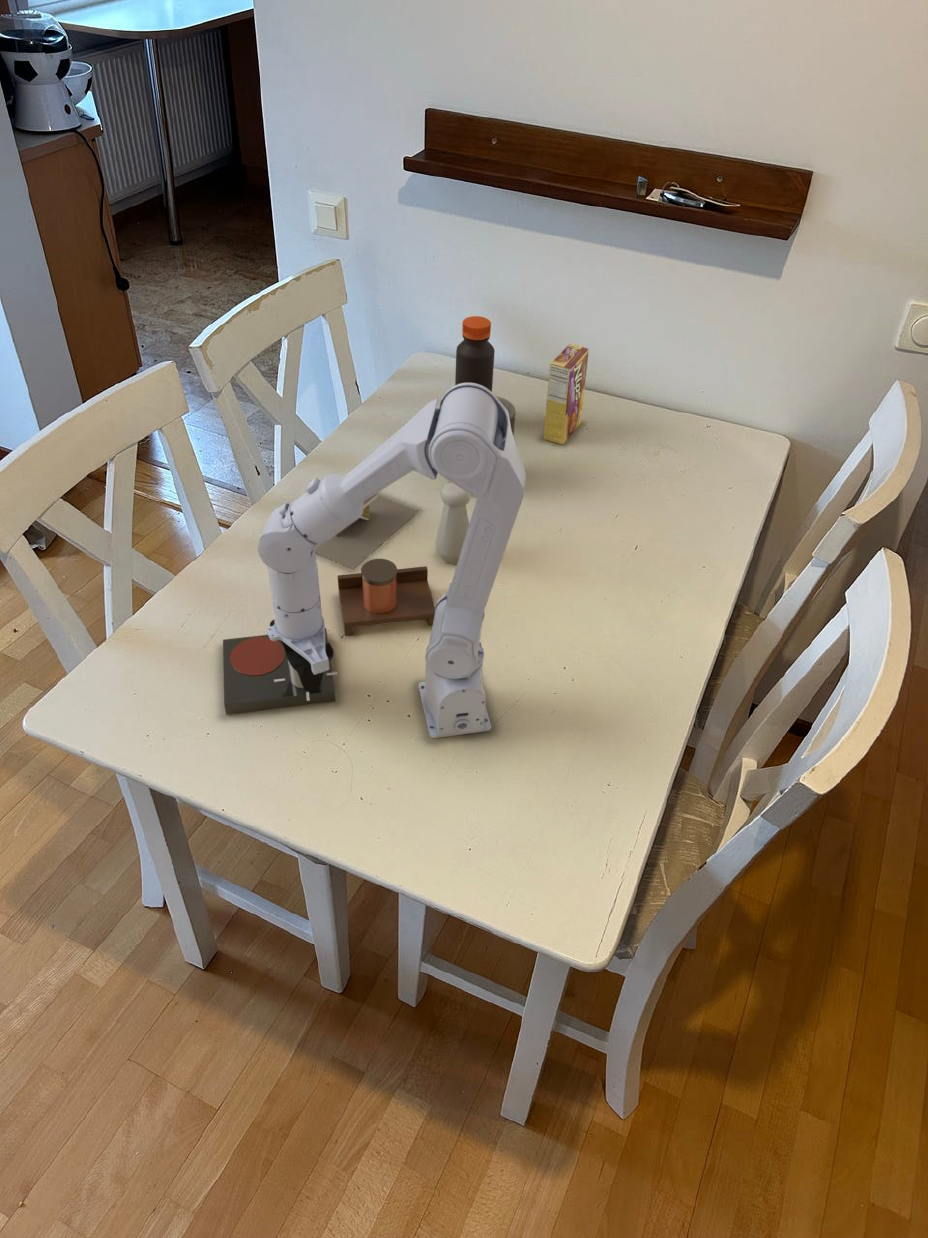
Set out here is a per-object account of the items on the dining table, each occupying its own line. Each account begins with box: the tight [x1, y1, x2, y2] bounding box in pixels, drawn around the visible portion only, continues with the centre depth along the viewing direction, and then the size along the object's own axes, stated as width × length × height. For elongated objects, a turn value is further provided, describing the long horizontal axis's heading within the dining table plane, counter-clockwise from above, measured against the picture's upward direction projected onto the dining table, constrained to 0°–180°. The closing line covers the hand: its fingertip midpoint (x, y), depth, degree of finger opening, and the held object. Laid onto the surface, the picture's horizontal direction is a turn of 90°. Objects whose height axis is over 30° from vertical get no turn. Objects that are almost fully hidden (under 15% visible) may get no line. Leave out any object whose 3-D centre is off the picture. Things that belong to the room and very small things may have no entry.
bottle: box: [454, 315, 495, 393], centre depth 164 cm, size 7×7×20 cm
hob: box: [222, 627, 338, 716], centre depth 121 cm, size 13×15×2 cm
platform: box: [315, 492, 419, 570], centre depth 145 cm, size 12×18×6 cm, turn 149°
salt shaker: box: [434, 481, 472, 566], centre depth 138 cm, size 6×6×13 cm
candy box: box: [543, 343, 590, 445], centre depth 165 cm, size 9×4×15 cm, turn 152°
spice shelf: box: [336, 565, 435, 636], centre depth 131 cm, size 8×13×4 cm, turn 102°
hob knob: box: [288, 661, 303, 688], centre depth 118 cm, size 4×4×4 cm
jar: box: [360, 558, 398, 613], centre depth 128 cm, size 5×5×6 cm
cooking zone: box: [230, 637, 285, 676], centre depth 122 cm, size 7×7×1 cm
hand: (305, 674), depth 119 cm, fingers closed on hob knob, 4 cm apart
